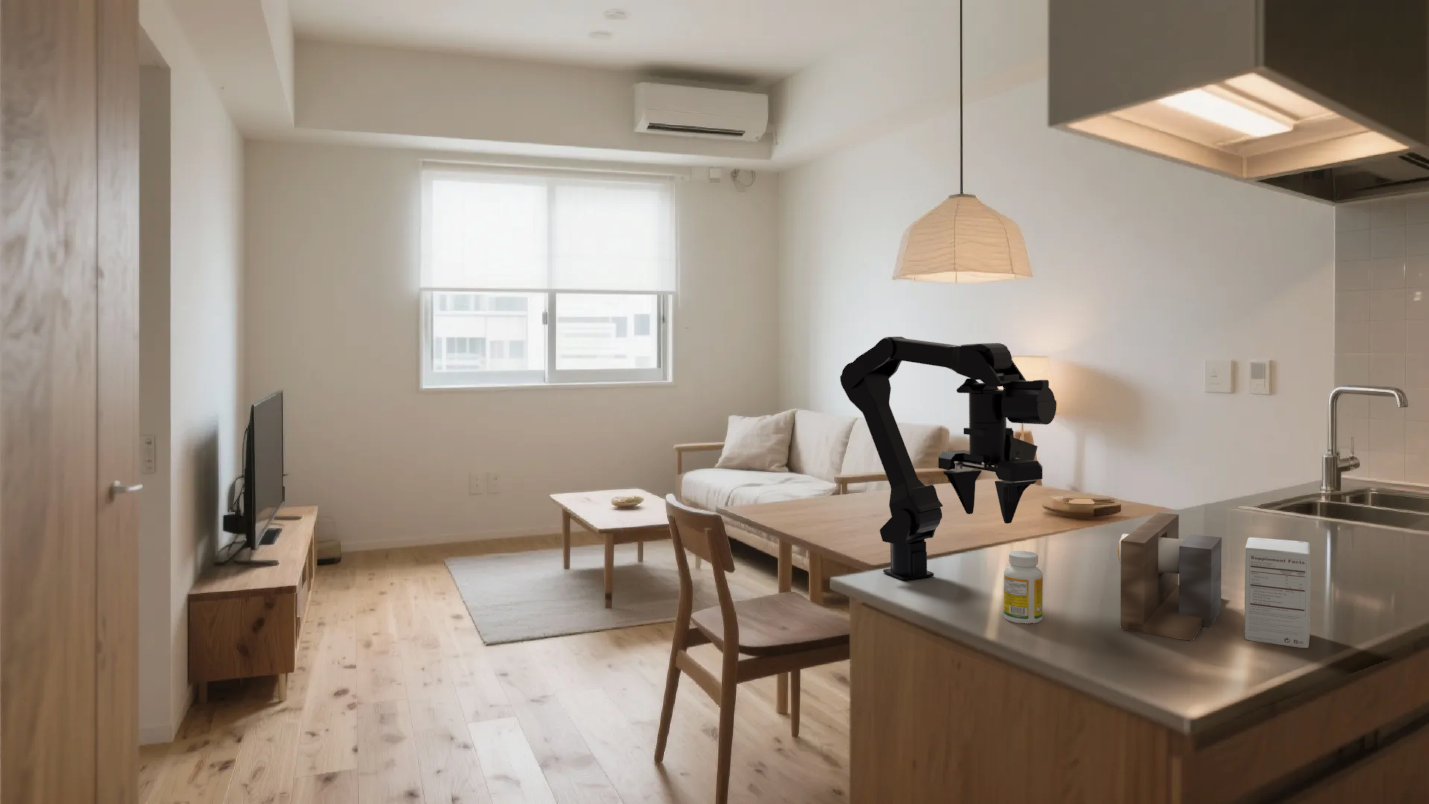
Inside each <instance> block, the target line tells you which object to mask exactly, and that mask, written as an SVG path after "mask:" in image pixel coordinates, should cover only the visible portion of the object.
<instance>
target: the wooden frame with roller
mask: <svg viewBox="0 0 1429 804" xmlns="http://www.w3.org/2000/svg"><path fill="white" fill-rule="evenodd" d="M1179 520H1180V514H1176V513H1167V512H1165V513H1164V512H1157V513H1155V514H1154V515H1153V516H1151V517H1150V518H1149V519H1148V520H1147V521H1145V522H1144V523H1142V524H1141V525H1140V526H1138V527H1137V528H1136V529H1134V530H1133V531H1132V532H1130V533H1128V534H1129V535H1128V536H1126V537H1125V538H1124V539H1122V540H1121V565H1120V630H1121V629H1124V630H1123V631H1128V632H1133V633H1141V634H1146V635H1147V634H1148V635H1154V636H1159V637H1160V636H1161V637H1164V638H1165V637H1167V638H1173V639H1178V640H1185V641H1191V642H1192V641H1194V639H1196V637H1197V635H1198V634H1199V632H1200V630H1201V629H1202V628H1203V627H1207V628H1211V627H1212V626H1213V624H1214V622H1215V621H1216V620H1217V618H1218V616H1219V615H1220V613H1221V611H1222V548H1223V547H1222V544H1223V543H1222V542H1223V541H1222V540H1223V539H1222V537H1220V536H1211V535H1210V536H1209V535H1201V534H1198V535H1197V534H1190V535H1189V536H1188V537H1187V538H1186V539H1185V540H1184V542H1183V543H1182V544H1181V545H1180V546H1179V574H1176V573H1168V572H1160V571H1158V538H1159V537H1163V538H1173V539H1180V538H1179V537H1180V536H1179V535H1180V534H1179V530H1180V529H1179V527H1180V525H1179V524H1180V523H1179V522H1180V521H1179Z"/></svg>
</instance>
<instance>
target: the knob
mask: <svg viewBox="0 0 1429 804" xmlns="http://www.w3.org/2000/svg"><path fill="white" fill-rule="evenodd" d="M1129 534H1130V533H1122V534H1121V536H1120V538H1119V542H1118V547H1117V557H1118V561H1119V565H1120V566H1121V540H1122V539H1124V538H1125V537H1126V536H1128V535H1129ZM1184 541H1185V540H1184V539H1181V538H1179V539H1173V538H1163V537H1159V538H1158V571H1160V572H1168V573H1176V574H1178V575H1179V546H1180V545H1181V544H1182V543H1183V542H1184Z"/></svg>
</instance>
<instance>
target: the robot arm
mask: <svg viewBox="0 0 1429 804" xmlns="http://www.w3.org/2000/svg"><path fill="white" fill-rule="evenodd" d="M902 362H908V363H915V364H921V365H928V366H935V367H941V368H946V369H949V370H951V371H953V372H955V373H956V374H957V375H961V376H963V377H966V379H965V381H964V382H963V383H962V384H961V385H959V387H957V388H956V392H957V393H958V394H968V419H969V420H968V426H969V427H963V435H968V436H969V437H968V440H969V441H968V442H969V443H968V444H969V446H968V447H969V450H966V449H960V450H950V451H949V450H948V451H947V450H946V451H942V452H941V454H940V455H939V456H938V460H937V461H938V464H937V465H938V469H940V470H942V472H943V475H945V476H946V477H947V479H948V481H949V482H950V484H951V487H952V488H953V489H954V491H955V493H956V495H957V497H958V499H959V501H960V503H961V505H962V507H963V509H964V511H965V514H967V515H973V514H974V509H975V496H976V495H975V494H976V481H977V479H978V478H979V477H980V475H981V473H982V472H983V471H987V472H992V473H995V476H996V477H997V479H998V480H995V481H994V485H995V489H996V494H997V498H998V502H999V504H998V505H999V506H1000V508H999V509H1000V512H1001V516H1002V519H1003V522H1004V524H1007V525H1008V524H1011V523H1012V521H1013V519H1014V517H1015V514H1016V511H1017V509H1018V505H1019V502H1020V500H1021V498H1022V496H1023V494H1024V491H1025V490H1026V489H1027V488H1028V487H1029V486H1031V485H1035V484H1036V483H1037V481H1038V480H1043V478H1044V477H1043V476H1044V475H1043V473H1044V472H1043V465H1042V464H1041V462H1039V460H1035V458H1036V455H1037V450H1038V448H1039V446H1038V445H1035V444H1032V443H1030V442H1028V441H1025V440H1022V439H1019V438H1015V431H1014V430H1013V427H1007V420H1008V421H1009V422H1010V423H1013V424H1026V425H1027V424H1029V425H1043V426H1044V425H1045V426H1046V425H1049V424H1051V423H1052V422H1053V420H1054V419H1055V416H1056V413H1057V400H1056V397H1055V394H1054V392H1053V391H1052V389H1051V388H1050V381H1049V379H1037V380H1035V379H1034V380H1027V379H1026V378H1025V376H1024V375H1023V374H1022V372H1021V371H1020V370H1019V368H1018V366H1016V365H1017V364H1016V362H1015V361H1013V357H1012V354H1011V351H1010V350H1009V348H1008V346H1007V345H1005V344H1004V343H1003V344H1002V343H1000V342H992V343H991V342H989V343H983V342H982V343H969V344H968V343H967V344H949V343H941V342H935V341H926V340H920V339H919V340H918V339H913V338H906V337H903V336H885V337H883V338H881V339H880V340H879V341H878V342H877V343H875V345H873V347H871V348H870V349H868V350H867V351H865V352H863V353H862V354H861V355H859V356H857V357H856V358H855V359H854V360H853V361H852V362H849V363H847V364H846V365H845V366H844V368H843V369H842V372H841V374H840V375H839V379H840V385H841V387H842V390H843V391H844V393H845V394H846V396H847V398H848V400H849V402H851V403H852V404H853V405H854V406H855V407H856V408H857V409H858V410H859V411H860V412H861V413H862V415H863V417H864V420H865V423H866V425H867V427H868V431H869V433H870V436H871V438H872V442H873V444H874V447H875V449H876V452H877V455H878V457H879V460H880V462H881V465H882V468H883V471H884V473H885V476H886V479H887V481H888V484H889V485H890V495H889V496H890V497H889V503H888V505H889V506H888V507H889V511H890V518H889V519H888V520H887V521H886V522H885V524H883V525H882V526H881V527H880V529H879V533H880V538H881V541H882V542H884V543H888V544H890V545H889V546H890V555H889V557H890V568H885V569H883V570H882V572H883V574H886V575H889V576H892V577H895V578H897V579H899V580H902V581H908V580H909V581H910V580H913V579H914V580H915V579H921V578H928V577H934V576H935V573H934V572H933V571H930V570H928V552H927V541H925V540H927V539H932V538H934V536H935V532H936V530H937V528H938V527H939V525H940V524H941V521H942V518H943V512H942V509H941V508H942V507H944V505H943V504H942V502H941V501H940V499H939V497H938V494H937V489H936V487H935V486H934V484H927V485H925V484H924V483H923V482H922V481H921V480H920V479H919V477H918V476H917V472H916V470H915V468H914V465H913V462H912V459H911V458H910V454H909V453H908V450H907V447H906V445H905V441H904V438H903V437H902V434H901V432H900V429H899V427H898V426H899V425H898V424H897V420H896V418H895V416H894V413H893V410H892V408H891V406H890V399H891V391H892V390H891V389H892V386H891V383H890V378H892V376H894V375H895V374H896V373H897V371H898V369H899V367H900V365H901V363H902ZM979 380H980V381H981V382H979ZM999 387H1002V389H999Z"/></svg>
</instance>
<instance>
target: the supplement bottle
mask: <svg viewBox="0 0 1429 804" xmlns="http://www.w3.org/2000/svg"><path fill="white" fill-rule="evenodd" d="M1008 563H1009V564H1010V565H1008V566H1007V567H1006V568H1005V569H1004V571H1003V617H1004V618H1005V620H1007V621H1009V622H1012V623H1014V624H1015V623H1016V624H1020V623H1025V624H1024V625H1029V624H1028V623H1033V624H1037V623H1039V621H1040V622H1041V621H1042V620H1043V594H1044V593H1043V590H1044V589H1043V586H1044V585H1043V582H1044V581H1043V579H1044V577H1043V572H1042V570H1041V568H1039V567H1037V565H1038V564H1039V555H1038V553H1035V552H1032V551H1027V550H1017V551H1016V550H1015V551H1010V552H1009V553H1008ZM1026 623H1027V624H1026Z"/></svg>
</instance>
